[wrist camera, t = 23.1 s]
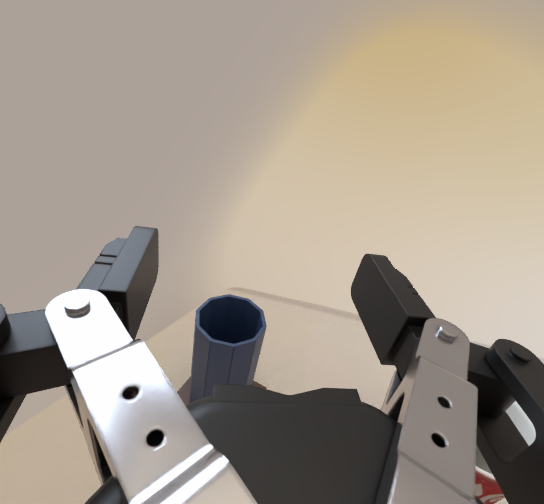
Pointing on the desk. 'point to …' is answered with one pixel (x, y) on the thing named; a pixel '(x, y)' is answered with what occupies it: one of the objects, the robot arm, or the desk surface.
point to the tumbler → (225, 344)
